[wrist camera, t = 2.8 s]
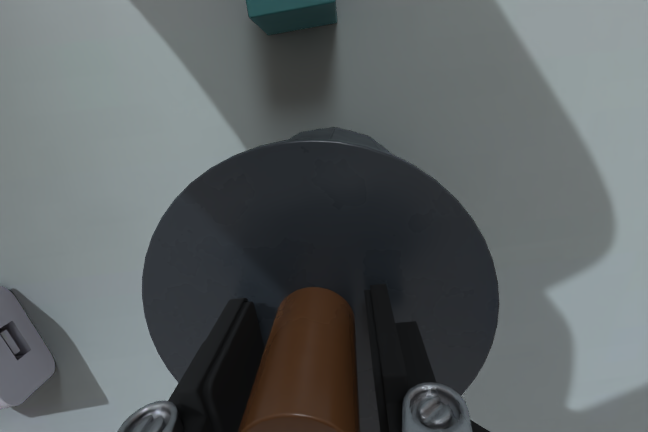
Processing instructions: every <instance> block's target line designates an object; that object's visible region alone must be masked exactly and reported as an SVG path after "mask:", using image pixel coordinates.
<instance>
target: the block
mask: <svg viewBox="0 0 648 432" xmlns="http://www.w3.org/2000/svg"><path fill="white" fill-rule="evenodd" d="M246 5H247V10H248V15H249V18H250V19H251V20H252V21H253V22H254V23H255V24H257V25H258V26H259V27H260V28H261V29H262V30H263V31H264V32H265V33H266V34H267V35H273V34H278V33H284V32H289V31H295V30H300V29H306V28H311V27H317V26H322V25H328V24H333V23H337V11H336V0H246Z"/></svg>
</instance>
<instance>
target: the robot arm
mask: <svg viewBox="0 0 648 432" xmlns="http://www.w3.org/2000/svg"><path fill="white" fill-rule="evenodd" d="M364 293H365V302H366V312H367V321H368V331H369V340H370V350H371V359H372V368H373V377H374V386H375V393H376V401H377V409H378V417H379V425H380V432H490V431H488V430H486V429H485V428H483V427H481V426H480V425H478V424H476V423H475V422H473V421H471V420H470V416H469V411H468V408H467V405H466V403H465V401H464V400H463V398H462V397H461V396H460V395H459V394H458V393H457V392H456V391H454V390H453V389H452V388H450V387H448V386H445V385H443V384H439V383H437V382H436V379H435V376H434V373H433V370H432V367H431V364H430V361H429V358H428V355H427V352H426V349H425V346H424V343H423V340H422V337H421V334H420V331H419V328H418V325H417V323H416V321H412V322H400V323H395V320H394V316H393V312H392V307H391V303H390V299H389V294H388V290H387V286H386V284H378V285H370V290H364ZM264 350H265V347H264V343H263V339H262V335H261V331H260V327H259V323H258V319H257V315H256V310H255V306H254V303H253V302H252V301H248V299H247V298H238V299H230V300H229V301H228V303H227V305H226V306H225V308H224V310H223V311H222V313H221V315H220V316H219V318H218V320H217V322H216V323H215V325H214V327H213V328H212V330H211V332H210V333H209V335H208V337H207V338H206V340H205V341H204V342H203V343H202V345H201V347H200V348H199V350H198V352H197V353H196V355H195V357H194V358H193V360H192V362H191V363H190V365H189V367H188V368H187V370H186V372H185V373H184V375H183V377H182V378H181V380H180V382H179V383H178V385H177V387H176V388H175V390H174V392H173V394H172V395H171V397H170V399H169V400H168V401H157V402H154V403H150V404H148V405H146V406H144V407H142V408H140V409H139V410H137V411H136V412H135V413H133V414H132V415H131V416H130V417H129V418H128V419H127V420H126V421H125V422H124V423H123V424H122V426H121V427H120V428H119V430H118V432H238V429H239V426H240V423H241V420H242V417H243V414H244V411H245V408H246V405H247V402H248V399H249V396H250V392H251V389H252V386H253V383H254V380H255V377H256V374H257V371H258V368H259V365H260V362H261V359H262V356H263V353H264Z"/></svg>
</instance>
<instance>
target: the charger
mask: <svg viewBox="0 0 648 432" xmlns="http://www.w3.org/2000/svg"><path fill="white" fill-rule="evenodd" d="M54 371H55V362H54V359H53V356H52V354H51V352H50V351H49V349H48V348H47V346H46V345H45V343H44V341H43V340H42V338H41V337H40V335H39V333H38V332H37V330H36V329H35V327H34V325H33V324H32V322H31V321H30V319H29V318H28V316H27V314H26V313H25V311H24V310H23V308H22V306H21V305H20V303H19V302H18V300H17V299H16V297H15V296H14V295H13V293H12V292H11V291H9V290H8V289H7V288H5V287H3V286H0V409H3V408H8V407H13V406H18V405H20V404H21V403H23V402H24V401H25V400H26V399H27V398H28V397H29V396H30V395H31V394H32V393H33V392H34V391H36V390H37V389H38V388H39V387H40V386H41V385H42V384H43V383H44V382H45V381H46V380H47V379H48V378H50V377H51V376H52V375H53V373H54Z"/></svg>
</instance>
